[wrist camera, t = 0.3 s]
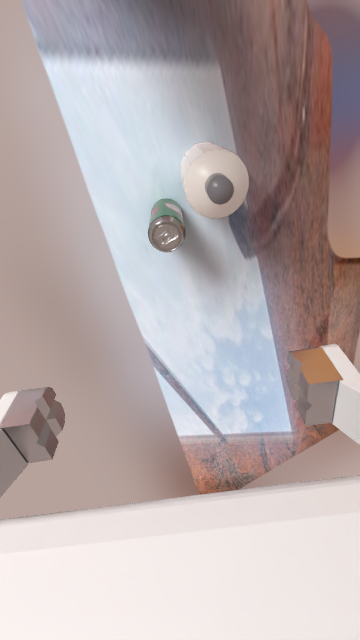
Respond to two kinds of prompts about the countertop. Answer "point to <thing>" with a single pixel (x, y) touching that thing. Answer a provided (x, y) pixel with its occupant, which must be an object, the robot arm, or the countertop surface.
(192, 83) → the countertop surface
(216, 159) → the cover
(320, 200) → the countertop surface
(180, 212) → the soda can
